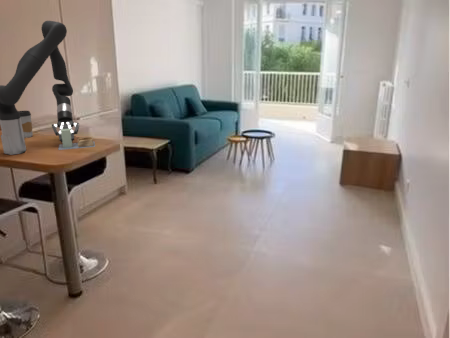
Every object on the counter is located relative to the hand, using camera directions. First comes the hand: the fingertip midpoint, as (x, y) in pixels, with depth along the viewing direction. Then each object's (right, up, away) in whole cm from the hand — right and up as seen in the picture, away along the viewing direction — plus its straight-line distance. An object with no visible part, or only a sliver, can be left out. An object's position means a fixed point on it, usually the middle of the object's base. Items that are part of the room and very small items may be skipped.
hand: (67, 140), depth 193 cm
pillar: (-1, -3, +3) cm, 4 cm away
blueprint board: (+4, -3, +4) cm, 7 cm away
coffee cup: (-36, +4, +28) cm, 46 cm away
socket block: (+8, -2, +6) cm, 10 cm away
